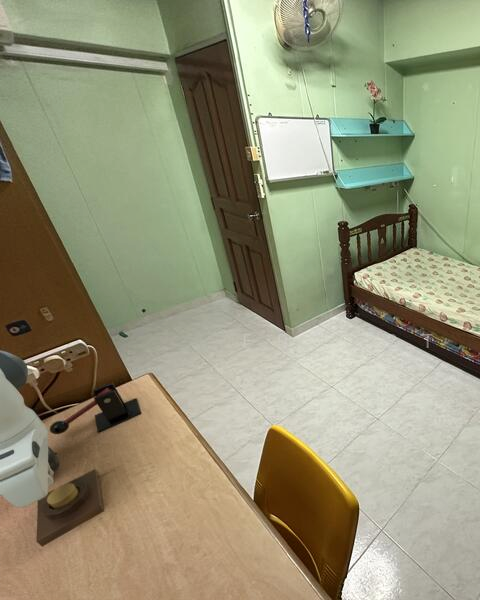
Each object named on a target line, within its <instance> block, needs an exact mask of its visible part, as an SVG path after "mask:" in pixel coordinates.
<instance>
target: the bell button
mask: <svg viewBox="0 0 480 600" xmlns="http://www.w3.org/2000/svg"><path fill="white" fill-rule="evenodd" d="M67 483H68V482H67ZM54 489H55V490H54ZM54 489H53V490H54V491H53V492H52V493H51V494H50V495H49V496H48V498H47V502H48V503H49V504H50V505H51V506H52V507H53V508H55V509H58V508H62V507H64V506H65V505H67V504H69V503H70V502H71V501H73V500H74V499H75V498H76V497H77V495H78V493H79V491H78V489H77V488H76V487H75V486H74V484H72V483H68V484H66V483H64V484H62V485H60V486H58V487H56V488H54Z"/></svg>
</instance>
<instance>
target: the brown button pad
mask: <svg viewBox="0 0 480 600" xmlns="http://www.w3.org/2000/svg"><path fill="white" fill-rule="evenodd" d="M68 483H72V484H74V486H75V487H76V488H77V489H78V491H79V493H78V495H77V497H76V498H75V499H74V500H73V501H71V502H70V503H69V504H67V505H65V506H64V507H62V508H58V509H55V508H53V507H52V506H51V505H50V504H49V503H48V502H47V498H48V496H49V495H50V494H51V493H52V492H53V491H54V490H55V489H56V488H54V489H53V490H51V491H48V494H47V496H46V497H44V498H42V499H40V500H39V501H37V515H36V516H37V517H36V540H35V541H36V543H37V544H38V545H40V546H41V547H44V546H46V545H48V544H49V543H50V542H52V541H55V540H56V539H58V538H60V537H61V536H63V535H65V534H67V533H68V532H70V531H72V530H74V529H76V528H77V527H79V526H81V525H83V524H84V523H86V522H88V521H89V520H91V519H94V517H97V516H98V515H101V513H104V511H105V508H104V507H105V506H104V500H103V499H104V498H103V493H102V492H103V491H102V484H101V477H100V474H99V472H98V471H97V469H96V468H94V469H92V470H90V471H89V472H86V473H84V474H83V475H80V476H78V477H77V478H74V479H72V480H70V481H68V482H67V483H65V484H68Z"/></svg>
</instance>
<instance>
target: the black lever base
mask: <svg viewBox="0 0 480 600" xmlns="http://www.w3.org/2000/svg"><path fill="white" fill-rule="evenodd" d="M107 387H108V388H109V389H111V391H109V392H106V393H104V394H101V395H99V396H97V394H99V393H100V392H101V391H103V390H104V389H106V388H107ZM92 393H93V394H94V395H95V396H94V397H93V401H94V400H95V401H96V403H97V405H96V406H98V408H99V409H100V411H101V412H99V413H98V414H95V415H94V418H95V425H96V426H95V427H96V432H97V434H101V433H102V432H105V431H107V430H109V429H111V428H114V427H116V426H118V425H120V424H122V423H125V422H127V421H129V420H132V419H134V418H136V417H138V416H140V415H142V411H141V407H140V405H139V401H138V398H137V397H135V398H131V399H130V400H127V401H126V402H125V401H124V399H123V398H122V396H121V394H120V393H119V391H118V389H117V387H116V386H115V384H114V382H109V383H107V384H104V385H102V386H99V387H96V388H93V389H92Z"/></svg>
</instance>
